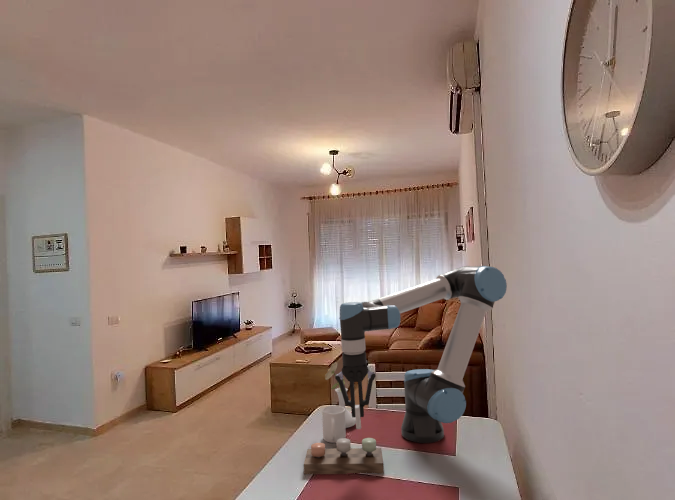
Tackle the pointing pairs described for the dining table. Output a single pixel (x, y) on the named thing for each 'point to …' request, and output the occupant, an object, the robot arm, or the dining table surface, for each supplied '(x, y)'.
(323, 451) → the orange egg
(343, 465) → the cardboard egg tray
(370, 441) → the sage egg
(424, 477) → the dining table surface
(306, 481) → the dining table surface
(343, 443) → the grey egg
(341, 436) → the mug
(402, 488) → the dining table surface
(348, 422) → the flower in vase
